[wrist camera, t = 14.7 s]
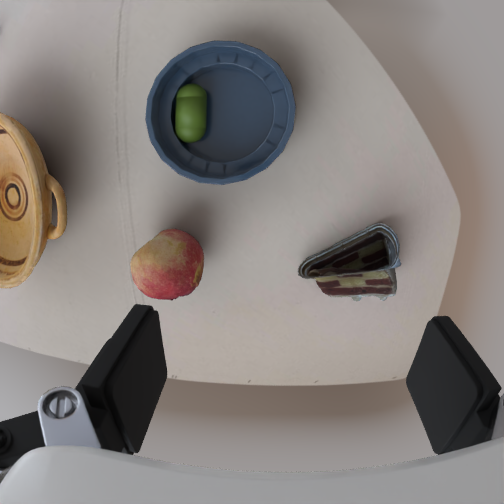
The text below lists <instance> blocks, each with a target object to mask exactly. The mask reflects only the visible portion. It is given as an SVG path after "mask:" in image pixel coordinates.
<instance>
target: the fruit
mask: <svg viewBox="0 0 504 504" xmlns="http://www.w3.org/2000/svg"><path fill="white" fill-rule="evenodd" d="M203 266H204V255H203V250H202V248H201V246H200V244H199V242H198V241H197V240H196V239H195V238H194V237H192V236H191V235H190V234H188V233H186V232H184V231H181V230H178V229H167V230H163V231H162V232H160V233H159V234H158V235H157V236H155V237H154V238H153V239H152V240H151V241H149V242H148V243H146V244H145V245H144V246H143V247H142V248H140V249H139V250H138V251H137V252H136V253H135V254H134V255H133V257H132V259H131V273H132V278H133V281H134V283H135V284H136V285H137V287H138V289H139V290H140V291H142V292H143V293H144V294H145V295H147V296H148V297H151V298H156V299H168V300H173V299H176V298H177V297H179V296H185V295H186V296H187V295H189V294H190V293H192V292H193V290H194V289H195V288H196V287H197V286H198V285H199V282H200V280H201V277H202V273H203Z"/></svg>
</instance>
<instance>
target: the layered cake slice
mask: <svg viewBox="0 0 504 504" xmlns="http://www.w3.org/2000/svg"><path fill="white" fill-rule="evenodd" d="M399 245H400V244H399V242H398V238H397V234H395V233H394V231H393V230H392V229H391V228H390V226H387V225H385V224H384V223H381V224H375V225H372V226H370V227H367V228H366V229H365V230H364V231H360V232H358V233H356V234H355V235H353V236H351V237H349V238H348V239H345V240H343V241H341V242H339V243H338V244H337V243H336V244H335V245H333V246H332V247H330V248H328V249H326V250H323V251H321V252H320V253H318V254H315V255H313V256H311V257H308V258H307V259H306V260H305V261H303V262H302V263H301V264H300V266H299V270H298V273H299V274H298V275H300V276H301V277H302V278H305V279H310V278H312V279H316V282H317V284H318V286H319V288H321V290H322V292H323V293H325V294H327V295H328V296H330V297H352V299H353V300H354V301H360V300H361V296H365V297H366V296H377V297H378V298H380V300H382V301H384V300H386V298H387V297H388V296H395V294H396V290H397V281H396V273H395V267H399V266H401V262H400V259H399V248H400V247H399Z"/></svg>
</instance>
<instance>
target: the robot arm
mask: <svg viewBox="0 0 504 504" xmlns="http://www.w3.org/2000/svg"><path fill="white" fill-rule="evenodd" d="M166 379H167V366H166V361H165V354H164V348H163V342H162V335H161V328H160V321H159V314H158V311H155V310H154V309H153V307H152V306H149V305H139V304H135V305H134V306H133V308H132V309H131V311H130V312H129V313H128V315H127V316H126V318H125V319H124V320H123V322H122V323H121V325H120V326H119V328H118V329H117V330H116V332H115V333H114V335H113V336H112V338H111V339H109V340H108V341H107V342H106V343H105V345H104V346H103V347H102V349H101V350H100V352H99V353H98V355H97V356H96V358H95V359H94V361H93V362H92V364H91V365H90V367H89V368H88V370H87V371H86V373H85V374H84V376H83V377H82V379H81V380H80V382H79V383H78V385H77V386H76V388H75V389H73V388H71V387H66V386H61V387H55V388H52V389H50V390H48V391H47V392H46V393H44V394H43V395H42V397H41V398H40V400H39V402H38V411H35V412H32V413H29V414H25V415H22V416H19V417H15V418H12V419H9V420H5V421H2V422H0V504H504V394H503V395H502V396H501V397H499V395H498V393H499V392H500V390H501V386H500V385H499V383H498V382H497V380H496V379H495V377H494V376H493V374H492V373H491V372H490V370H489V369H488V367H487V366H486V365H485V363H484V362H483V360H482V359H481V358H480V357H479V355H478V354H477V352H476V351H475V350H474V348H473V347H472V346H471V344H470V343H469V342H468V341H467V339H466V338H465V336H464V335H463V334H462V332H461V331H460V330H459V329H458V327H457V326H456V325H455V324H454V322H453V321H452V320H451V319H450V317H448V316H435V317H433V318H432V319H431V321H429V322H428V323H427V325H426V328H425V331H424V334H423V337H422V340H421V342H420V345H419V348H418V350H417V353H416V355H415V358H414V360H413V363H412V365H411V368H410V370H409V373H408V375H407V378H406V384H407V387H408V390H409V392H410V394H411V396H412V399H413V401H414V404H415V406H416V408H417V411H418V413H419V416H420V418H421V420H422V423H423V425H424V428H425V430H426V433H427V436H428V438H429V440H430V443H431V446H432V449H433V451H434V452H435V453H436V454H438V455H436V456H432V457H427V458H422V459H418V460H413V461H407V462H402V463H397V464H390V465H383V466H376V467H369V468H359V469H350V470H337V471H320V472H255V471H239V470H227V469H217V468H208V467H199V466H192V465H185V464H178V463H171V462H166V461H160V460H155V459H150V458H145V457H140V456H135V455H133V454H134V453H138V452H139V450H140V448H141V445H142V443H143V440H144V437H145V435H146V432H147V429H148V427H149V424H150V421H151V418H152V416H153V413H154V410H155V408H156V405H157V403H158V400H159V397H160V395H161V392H162V389H163V387H164V384H165V381H166Z"/></svg>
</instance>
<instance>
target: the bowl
mask: <svg viewBox="0 0 504 504" xmlns="http://www.w3.org/2000/svg"><path fill="white" fill-rule="evenodd" d="M187 84H198V85H200V86H201V87H203V89H204V90H205V91H206V94H207V115H206V132H205V134H204V136H203V137H202V138H201V139H200V140H199V141H197V142H194V143H187V142H184V141H182V140H181V139H179V137H178V136H177V134H176V130H175V117H176V95H177V93H178V91H179V90H180V88H182V87H183V86H184V85H187ZM295 106H296V105H295V100H294V96H293V91H292V87H291V84H290V82H289V80H288V79H287V77H286V75H285V74H284V72H283V71H282V69H281V68H280V66H279V65H278V63H276V62H275V61H274V60H273V59H271V58H270V57H269V56H268V55H266V54H265V53H264V52H262V51H261V50H259V49H257V48H254V47H252V46H249V45H246V44H243V43H241V42H237V41H211V42H207V43H203V44H200V45H196V46H193V47H190V48H189V49H187V50H185V51H184V52H182V53H181V54H179V55H177V56H176V57H174V58H173V59H172V60H170V62H169V63H168V64H167V65H166V66H165V67H164V68H163V70H162V71H161V72H160V73H159V74H158V76H157V77H156V79H155V81H154V83H153V86H152V88H151V90H150V93H149V95H148V98H147V107H146V124H147V129H148V133H149V137H150V141H151V143H152V145H153V146H154V148H155V150H156V151H157V153H158V155H159V156H160V158H161V159H162V160H163V161H164V162H165V163H166V164H167V165H168V166H170V167H171V168H172V169H173V170H174V171H175V172H177V173H178V174H179V175H182V176H184V177H186V178H189V179H191V180H194V181H196V182H198V183H206V184H217V185H225V184H230V183H234V182H239V181H244V180H247V179H249V178H250V177H252V176H254V175H256V174H258V173H259V172H261V171H263V170H265V169H266V168H268V166H269V165H270V164H271V163H272V162H273V161H274V160H275V159H276V158H277V157H278V156H279V155H280V154H281V153H282V152H283V150H284V148H285V146H286V144H287V142H288V140H289V138H290V135H291V133H292V131H293V127H294V119H295V110H296V107H295Z"/></svg>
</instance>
